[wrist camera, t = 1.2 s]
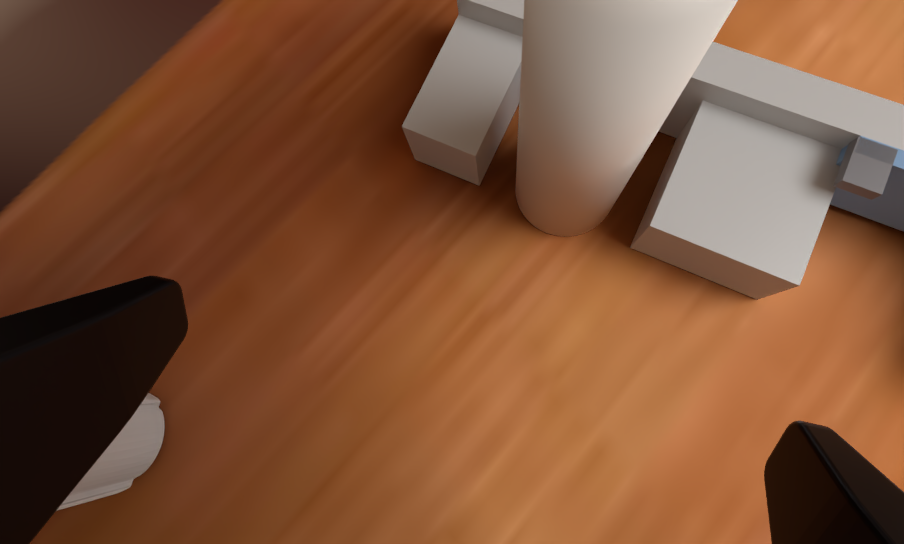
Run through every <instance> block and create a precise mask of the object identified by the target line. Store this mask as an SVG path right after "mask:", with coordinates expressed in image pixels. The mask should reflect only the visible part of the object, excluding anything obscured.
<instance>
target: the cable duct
mask: <svg viewBox="0 0 904 544" xmlns="http://www.w3.org/2000/svg"><path fill="white" fill-rule="evenodd" d="M457 4H458V11H459V15H458V17H457V19H456V21H455V23H454V25H453V27H452V29H451V31H450V33H449V35H448V37H447V39H446V41H445V43H444V45H443V47H442V48H441V50H440V52H439V54H438V56H437V58H436V60H435V62H434V64H433V66H432V68H431V70H430V72H429V74H428V76H427V78H426V80H425V82H424V84H423V86H422V88H421V90H420V91H419V93H418V95H417V97H416V99H415V101H414V103H413V105H412V107H411V109H410V111H409V113H408V115H407V117H406V119H405V121H404V123H403V125H402V129H403V131H404V134H405V136H406V139H407V141H408V144H409V146H410V148H411V151H412V153H413V156H414V158H415V160H417V161H420V162H422V163H425V164H427V165H430V166H432V167H435V168H437V169H439V170H442V171H444V172H447V173H449V174H452V175H454V176H457V177H459V178H461V179H464V180H466V181H469V182H471V183H474V184H476V185H478V186H480V184H481V182H482V180H483V177H484V175H485V173H486V171H487V169H488V167H489V165H490V163H491V161H492V159H493V157H494V154H495V152H496V150H497V148H498V146H499V144H500V142H501V140H502V138H503V136H504V134H505V132H506V129H507V127H508V125H509V123H510V121H511V119H512V117H513V115H514V113H515V111H516V109H517V106H518V104H519V102H520V81H521V60H522V39H523V17H524V0H457ZM658 132H661V133H664V134H667V135H669V136H672V137H675V138H676V141H675V143H674V145H673V148H672V150H671V152H670V155H669V157H668V159H667V162H666V164H665V166H664V169H663V171H662V173H661V176H660V178H659V180H658V183H657V185H656V187H655V190H654V192H653V195H652V197H651V199H650V202H649V204H648V206H647V209H646V211H645V213H644V216H643V218H642V220H641V223H640V225H639V227H638V230H637V232H636V234H635V237H634V239H633V241H632V244H631V246H630V248H632V249H635V250H637V251H640V252H642V253H644V254H647V255H649V256H652V257H654V258H657V259H659V260H662V261H664V262H666V263H669V264H671V265H674V266H676V267H679V268H681V269H683V270H686V271H688V272H691V273H693V274H696V275H698V276H701V277H703V278H705V279H708V280H710V281H713V282H715V283H718V284H720V285H723V286H725V287H727V288H730V289H732V290H735V291H737V292H740V293H742V294H744V295H747V296H749V297H752V298H754V299H757V300H758V299H761V298H764V297H767V296H770V295H773V294H776V293H779V292H782V291H785V290H788V289H791V288H794V287H797V286H800V283H801V280H802V278H803V275H804V272H805V269H806V267H807V264H808V261H809V259H810V256H811V253H812V251H813V248H814V245H815V243H816V240H817V237H818V235H819V232H820V229H821V226H822V224H823V221H824V218H825V216H826V213H827V210H828V208H829V205H833V206H836V207H838V208H841V209H844V210H847V211H849V212H852V213H855V214H857V215H860V216H863V217H865V218H868V219H871V220H874V221H876V222H879V223H882V224H884V225H887V226H890V227H893V228H895V229H898V230H901V231H903V232H904V105H902V104H899V103H896V102H893V101H890V100H887V99H884V98H881V97H878V96H875V95H872V94H869V93H866V92H863V91H860V90H857V89H854V88H851V87H848V86H845V85H842V84H839V83H836V82H833V81H830V80H827V79H824V78H821V77H818V76H815V75H812V74H809V73H806V72H803V71H800V70H797V69H794V68H791V67H788V66H785V65H782V64H779V63H776V62H773V61H770V60H767V59H763V58H760V57H757V56H754V55H751V54H748V53H745V52H742V51H739V50H736V49H733V48H730V47H727V46H724V45H721V44H718V43H715V42H712V44H711V45H710V47H709V49H708V50H707V52H706V53H705V55H704V57H703V58H702V60H701V62H700V63H699V65H698V67H697V68H696V70H695V72H694V73H693V75H692V77H691V78H690V80H689V82H688V83H687V85H686V87H685V88H684V90H683V91H682V93H681V95H680V96H679V98H678V100H677V101H676V103H675V105H674V106H673V108H672V110H671V111H670V113H669V115H668V116H667V118H666V120H665V121H664V123H663V124H662V126H661V128H660V129H659V131H658Z"/></svg>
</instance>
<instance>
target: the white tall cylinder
mask: <svg viewBox="0 0 904 544" xmlns="http://www.w3.org/2000/svg"><path fill="white" fill-rule="evenodd" d="M737 1H738V0H524V17H523V39H522V60H521V81H520V102H519V123H518V144H517V165H516V186H515V191H516V199H517V203H518V206H519V208H520V210H521V212H522V213H523V215H524V216H525V218H526V219H527V220H528V221H529V222H530V223H531V224H532V225H533V226H535V227H536V228H538V229H539V230H541V231H543V232H545V233H548V234H551V235H556V236H564V237H565V236H576V235H580V234H583V233H586V232H588V231H590V230H592V229H593V228H595V227H596V226H598V225H599V224H600V223H601V222H602V221H603V220H604V219H605V218H606V216H607V215H608V214H609V212H610V210H611V209H612V207H613V205H614V204H615V202H616V200H617V199H618V197H619V195H620V194H621V192H622V191H623V189H624V187H625V186H626V184H627V182H628V181H629V179H630V177H631V176H632V174H633V172H634V171H635V169H636V167H637V166H638V164H639V162H640V161H641V159H642V158H643V156H644V154H645V153H646V151H647V149H648V148H649V146H650V144H651V143H652V141H653V139H654V138H655V136H656V134H657V133H658V131H659V129H660V128H661V126H662V124H663V123H664V121H665V120H666V118H667V116H668V115H669V113H670V111H671V110H672V108H673V106H674V105H675V103H676V101H677V100H678V98H679V96H680V95H681V93H682V91H683V90H684V88H685V87H686V85H687V83H688V82H689V80H690V78H691V77H692V75H693V73H694V72H695V70H696V68H697V67H698V65H699V63H700V62H701V60H702V58H703V57H704V55H705V53H706V52H707V50H708V49H709V47H710V45H711V44H712V42H713V40H714V39H715V37H716V35H717V34H718V32H719V30H720V29H721V27H722V25H723V24H724V22H725V20H726V19H727V17H728V16H729V14H730V12H731V11H732V9H733V7H734V6H735V4H736V2H737Z"/></svg>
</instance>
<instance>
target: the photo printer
mask: <svg viewBox="0 0 904 544" xmlns="http://www.w3.org/2000/svg"><path fill="white" fill-rule="evenodd" d="M159 405H160V400H159V399H158V398H157V397H155V396H153V395H152V394H150V393H148V394H147V396H146V397H145V399H144V400H143V402H142V403H141V405H140V406H139V407H138V409H137V410H136V412H135V413H134V415H133V416H132V417H131V419H130V420H129V421H128V423H127V424H126V425H125V427H124V428H123V429H122V430H121V432H120V433H119V434H118V435H117V437H116V438H115V439H114V440H113V442H112V443H111V444H110V445H109V446H108V448H107V449H106V450H105V451H104V453H103V454H102V455H101V456H100V457H99V459H98V460H97V461H96V462H95V464H94V465H93V466H92V467H91V469H90V470H89V471H88V472H87V473H86V475H85V476H84V477H83V478H82V480H81V481H80V482H79V483H78V485H77V486H76V487H75V488H74V489H73V491H72V492H71V493H70V494H69V496H68V497H67V498H66V499H65V501H64V502H63V503H62V504H61V505H60V507H59V508H58V509H57V510H61V509H65V508H68V507H72V506H75V505H79V504H82V503H86V502H89V501H93V500H96V499H100V498H103V497H107V496H110V495H114V494H117V493H119V492H122V491H124V490H126V489H128V488H130V487H131V485H132V482H133V480H134V478H136V477H138V476H140V475H142V474H143V473H144V472H145V471H146V470H147V469H148V468H149V467H150V466H151V464H152V463H153V462H154V460H155V458H156V457H157V455H158V453H159V450H160V448H161V445H162V442H163V437H164V430H165V424H164V416H163V412H162V410H161V409H160V408H159ZM57 510H56V511H57Z"/></svg>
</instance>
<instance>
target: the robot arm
mask: <svg viewBox="0 0 904 544" xmlns="http://www.w3.org/2000/svg"><path fill="white" fill-rule="evenodd" d="M187 329H188V319H187V314H186V309H185V304H184V299H183V294H182V289H181V287H180V285H179V284H178V282H176V281H174V280H171V279H167V278H162V277H158V276H146V277H143V278H139V279H136V280H132V281H129V282H125V283H122V284H118V285H115V286H111V287H108V288H104V289H101V290H97V291H94V292H90V293H86V294H83V295H79V296H76V297H72V298H69V299H65V300H62V301H58V302H55V303H51V304H48V305H44V306H41V307H37V308H34V309H30V310H27V311H23V312H19V313H16V314H12V315H9V316H5V317H2V318H0V544H30V542H31V541H32V540H33V539H34V537H35V536H36V535H37V534H38V532H39V531H40V530H41V529H42V528H43V526H44V525H45V524H46V523H47V521H48V520H49V519H50V518H51V516H52V515H53V514H54V513H55V512H56V510H57V509H58V508H59V507H60V505H61V504H62V503H63V502H64V501H65V499H66V498H67V497H68V496H69V494H70V493H71V492H72V491H73V489H74V488H75V487H76V486H77V485H78V483H79V482H80V481H81V480H82V478H83V477H84V476H85V475H86V473H87V472H88V471H89V470H90V469H91V467H92V466H93V465H94V464H95V462H96V461H97V460H98V459H99V457H100V456H101V455H102V454H103V453H104V451H105V450H106V449H107V448H108V446H109V445H110V444H111V443H112V442H113V440H114V439H115V438H116V437H117V435H118V434H119V433H120V432H121V430H122V429H123V428H124V427H125V425H126V424H127V423H128V421H129V420H130V419H131V417H132V416H133V415H134V413H135V412H136V410H137V409H138V407H139V406H140V405H141V403H142V402H143V400H144V399H145V397H146V396H147V394H148V393H149V391H150V390H151V388H152V387H153V385H154V383H155V382H156V380H157V379H158V377H159V376H160V374H161V373H162V371H163V370H164V368H165V367H166V365H167V364H168V362H169V361H170V359H171V358H172V356H173V355H174V353H175V352H176V350H177V349H178V347H179V346H180V344H181V343H182V341H183V340H184V338H185V336H186V333H187ZM764 480H765V489H766V497H767V506H768V515H769V523H770V532H771V541H772V544H904V492H903V491H902V490H901V489H900V488H898V487H897V486H896V485H895V484H894V483H893V482H892V481H890V480H889V479H888V478H887V477H886V476H885V475H884V474H882V473H881V472H880V471H879V470H878V469H877V468H876V467H874V466H873V465H872V464H871V463H870V462H869V461H868V460H866V459H865V458H864V457H863V456H862V455H861V454H860V453H858V452H857V451H856V450H855V449H854V448H853V447H852V446H850V445H849V444H848V443H847V442H846V441H845V440H844V439H842V438H841V437H840V436H839V435H838V434H837V433H836V432H834V431H833V430H832V429H830V428H828V427H825V426H822V425H817V424H813V423H808V422H804V421H795V422H792V423H791V424H790V425H789V426H788V427H787V429H786V430H785V432H784V433H783V435H782V437H781V438H780V440H779V442H778V443H777V445H776V447H775V448H774V450H773V451H772V453H771V455H770V456H769V458H768V460H767V462H766V465H765V471H764Z"/></svg>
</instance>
